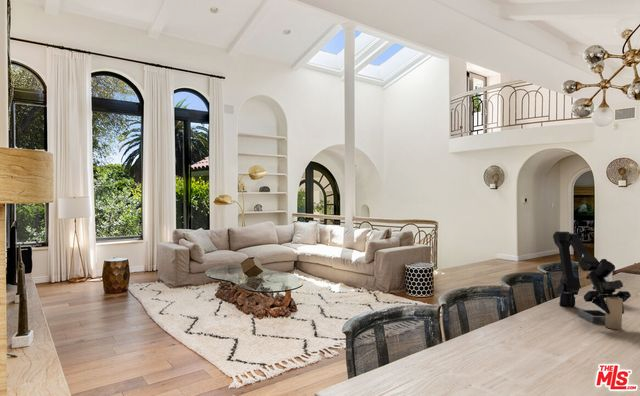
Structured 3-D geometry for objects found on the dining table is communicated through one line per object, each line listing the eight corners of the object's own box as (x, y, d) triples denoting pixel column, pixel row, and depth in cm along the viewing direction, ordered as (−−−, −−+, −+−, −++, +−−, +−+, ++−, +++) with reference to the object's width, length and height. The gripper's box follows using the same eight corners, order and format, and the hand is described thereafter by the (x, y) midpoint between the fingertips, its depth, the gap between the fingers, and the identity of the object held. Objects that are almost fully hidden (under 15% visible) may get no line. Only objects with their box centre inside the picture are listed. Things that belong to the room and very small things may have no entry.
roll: (606, 328, 181) (607, 299, 181) (603, 323, 187) (605, 295, 186) (622, 330, 179) (624, 301, 178) (619, 326, 184) (621, 297, 184)
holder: (578, 315, 199) (578, 309, 198) (598, 316, 199) (598, 310, 199) (592, 322, 189) (593, 316, 188) (613, 323, 189) (614, 316, 189)
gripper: (589, 273, 186) (605, 304, 175) (629, 273, 186) (647, 304, 175) (576, 285, 194) (591, 316, 183) (615, 286, 194) (632, 316, 184)
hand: (616, 313), depth 181 cm, fingers closed on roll, 6 cm apart
